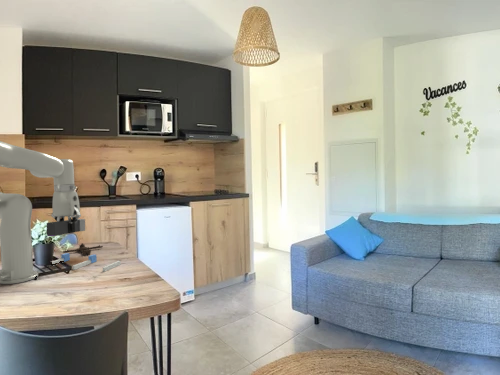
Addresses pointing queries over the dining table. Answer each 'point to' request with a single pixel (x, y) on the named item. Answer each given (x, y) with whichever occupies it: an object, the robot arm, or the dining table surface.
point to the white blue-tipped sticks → (86, 262)
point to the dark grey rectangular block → (64, 227)
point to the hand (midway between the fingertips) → (67, 232)
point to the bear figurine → (83, 249)
